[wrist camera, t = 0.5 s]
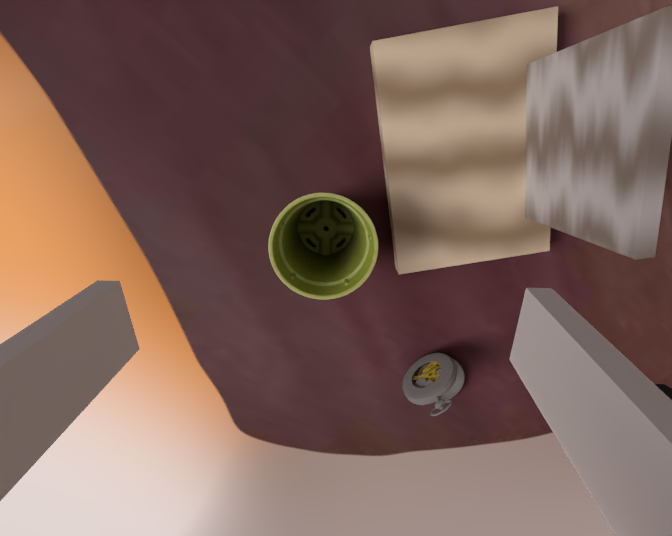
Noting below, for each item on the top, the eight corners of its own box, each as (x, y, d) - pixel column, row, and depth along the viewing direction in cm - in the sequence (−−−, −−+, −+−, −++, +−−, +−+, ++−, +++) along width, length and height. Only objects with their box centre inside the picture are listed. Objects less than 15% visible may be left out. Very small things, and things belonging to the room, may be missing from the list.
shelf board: (369, 47, 33) (401, -36, 18) (544, 14, 32) (733, -102, 17) (395, 268, 40) (434, 343, 25) (539, 245, 39) (668, 308, 24)
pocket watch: (448, 402, 46) (478, 468, 37) (388, 385, 45) (403, 449, 36) (476, 350, 44) (515, 407, 34) (413, 331, 43) (436, 384, 33)
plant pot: (264, 228, 38) (245, 251, 30) (323, 163, 36) (320, 168, 28) (326, 283, 41) (325, 319, 32) (386, 225, 38) (401, 247, 30)
